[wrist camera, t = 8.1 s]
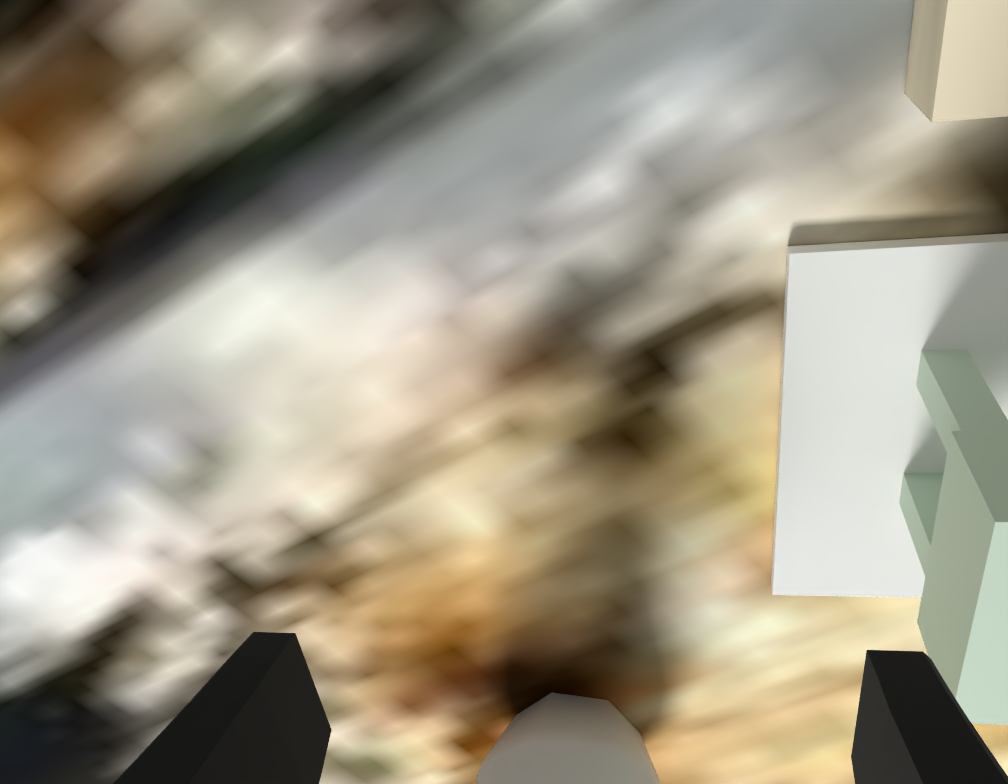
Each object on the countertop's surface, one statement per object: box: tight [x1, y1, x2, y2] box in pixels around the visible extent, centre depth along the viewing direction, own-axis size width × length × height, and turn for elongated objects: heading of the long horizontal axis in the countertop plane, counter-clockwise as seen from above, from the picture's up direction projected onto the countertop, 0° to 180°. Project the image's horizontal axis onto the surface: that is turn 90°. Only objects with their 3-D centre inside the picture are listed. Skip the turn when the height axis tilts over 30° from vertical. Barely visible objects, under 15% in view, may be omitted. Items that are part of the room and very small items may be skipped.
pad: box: [771, 233, 1008, 598], centre depth 20 cm, size 10×10×1 cm
